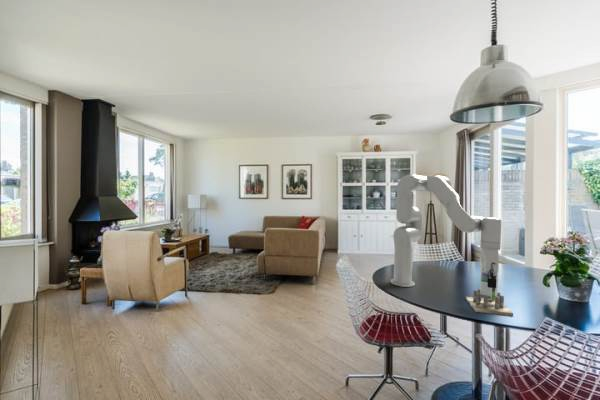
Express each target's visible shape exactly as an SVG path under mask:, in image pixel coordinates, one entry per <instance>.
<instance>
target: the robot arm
mask: <svg viewBox="0 0 600 400" xmlns="http://www.w3.org/2000/svg"><path fill="white" fill-rule="evenodd" d="M413 191H415V192H430V193H431V194H432V195H433V196H434V197H435V199H436V200H438V201H439V203H440V204H441V205H442V206H443V208H444V210H445V213H446V215H447V217H448V218H449V220H450V221H451V222H452V223H453V224H454V225H455V226H456V228H457V229H459V230H460V231H461V232H463V233H465V234H466V233H467V234H469V233H470V234H471V233H476V232H478V233H479V232H480V258H479V269H481V266H482V265H483V270H484V271H485V272H487V271H488V276H489V278H488V287H489V288H496V283H497V272H498V273H499V271H498V267H499V259H500V258H499V251H500V250H501V238H502V220H501V219H500V218H499V217H489V216H486V217H484V216H479V215H469V214H468V212H467V211H466V210H465V209H464V208H463V207H462V205H461V204H460V195H459V193H457V192H456V190H454V189H453V187H452V181H451V180H450V179H449V177H447V176H444V175H440V174H439V175H419V174H407V175H404V176H402V177H401V178H400V179H399V180H398V183H397V185H396V213H395V214H396V220H397V222H398V223H400V224H403V225H402V226H398V227H397V228H396V229H395V230H394V231H393V236H392V237H393V243H394V250H393V251H394V254H393V255H394V256H393V257H394V259H393V260H394V261H393V278H391V279H390V283H391V284H392V285H394V286H398V287H404V288H411V287H414V286H415V285H416V284H415V281H413V260H414V258H413V256H414V255H413V254H414V251H413V246H412V243H416V242H417V243H418V242H419V241H420V239H421V238H422V233H423V231H422V230H423V229H422V228H423V227H422V226H423V225H422V224H423V222H422V220H423V217H422V216H423V215H422V212H421V210H420V209H419V208H418V207H417V206H414V196H413V193H412V192H413ZM404 224H405V225H404ZM490 270H493V271H490ZM490 273H492V274H490Z"/></svg>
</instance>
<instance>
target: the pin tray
mask: <svg viewBox="0 0 600 400" xmlns="http://www.w3.org/2000/svg"><path fill="white" fill-rule="evenodd" d="M472 293H473V295H472V296H473V297H472V296H465V300H466V301H467V302H468V304H469V305H470V307H471V308H472V309H473V311H474V312H478V313H485V314H492V313H494V315H500V316H501V315H502V316H507V317H513V316H514V313H513V311H512V310H511V309H510V308H509V307H508V306H506V304H504V303H505V301H504V300H505V296H504V295H501V292H499V291H497V296H495V301H491V300H488V296H487V295H484V299H483V298H480V288H478V289H473V292H472Z"/></svg>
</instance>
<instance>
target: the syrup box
mask: <svg viewBox="0 0 600 400" xmlns="http://www.w3.org/2000/svg"><path fill="white" fill-rule="evenodd" d="M499 270H500V269H499V266H498V272H497V283H496V288H489V287H488V278H489V276H488V271H487V272H485V271H484V270H483V265H482V266H481V268H480V288H479V289H480V298H483V299H484V295H487V296H488V300H491V301H495V296H497V292H498V290H499V288H498V287H499V285H498V283H499ZM490 271H493V270H490ZM490 274H492V273H490Z"/></svg>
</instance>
